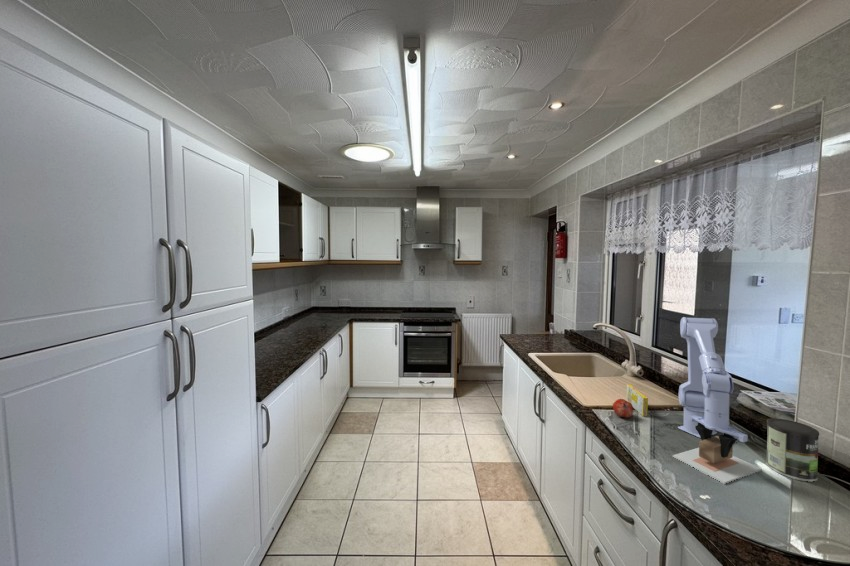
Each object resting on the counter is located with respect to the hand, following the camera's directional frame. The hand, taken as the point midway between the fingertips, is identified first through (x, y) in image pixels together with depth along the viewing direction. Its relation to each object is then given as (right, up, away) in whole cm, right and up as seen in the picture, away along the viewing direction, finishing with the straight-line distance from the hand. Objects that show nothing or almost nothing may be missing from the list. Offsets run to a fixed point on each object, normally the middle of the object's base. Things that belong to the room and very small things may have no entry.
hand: (715, 452), depth 99 cm
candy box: (+2, -2, +40) cm, 40 cm away
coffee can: (+19, -4, -4) cm, 20 cm away
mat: (0, -4, 0) cm, 4 cm away
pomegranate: (-9, -3, +33) cm, 34 cm away
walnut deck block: (0, -1, 0) cm, 1 cm away
